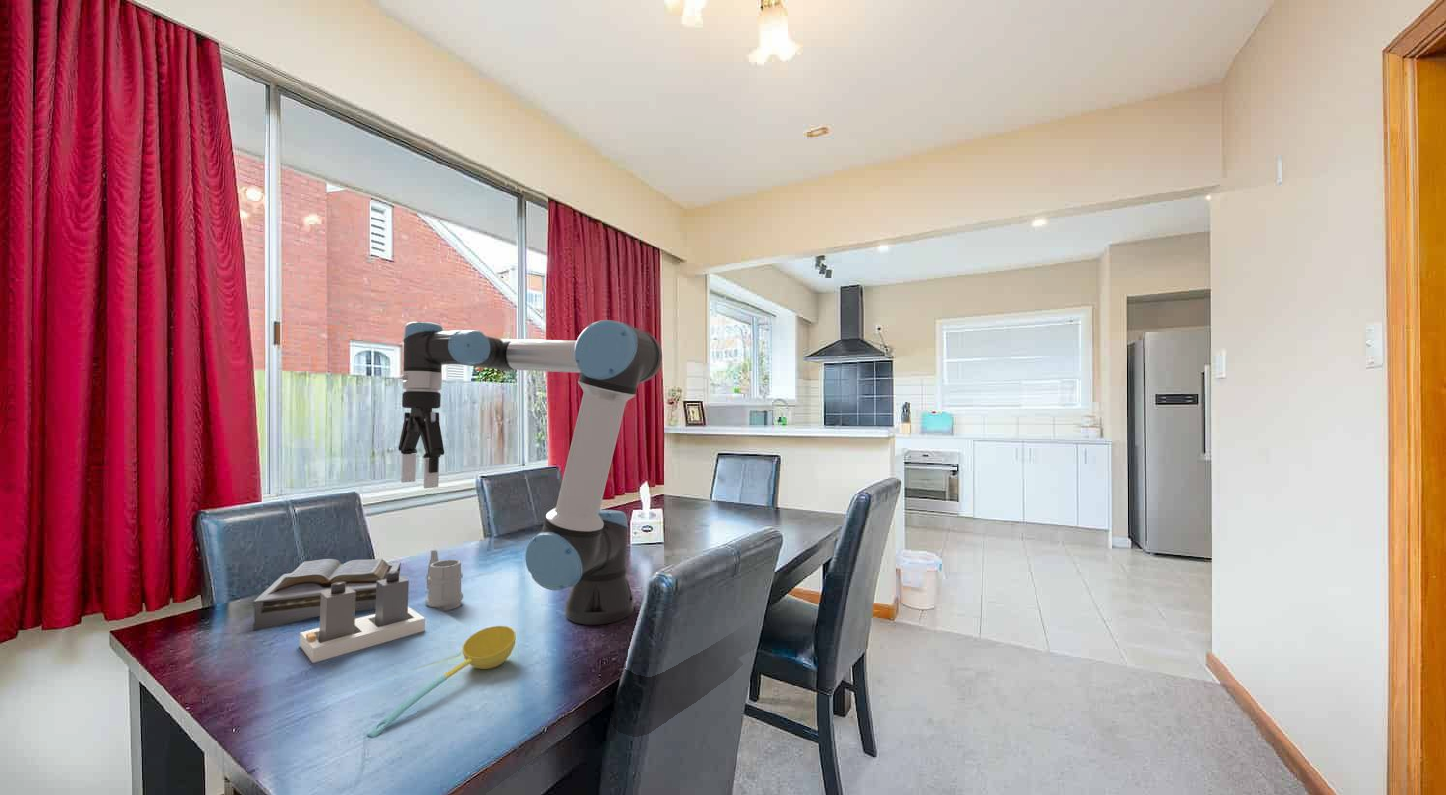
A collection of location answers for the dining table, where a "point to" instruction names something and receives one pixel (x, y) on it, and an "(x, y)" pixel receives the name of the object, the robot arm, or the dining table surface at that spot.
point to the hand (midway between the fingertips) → (419, 484)
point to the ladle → (465, 664)
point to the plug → (391, 599)
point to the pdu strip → (360, 636)
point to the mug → (444, 583)
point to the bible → (318, 589)
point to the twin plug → (337, 612)
